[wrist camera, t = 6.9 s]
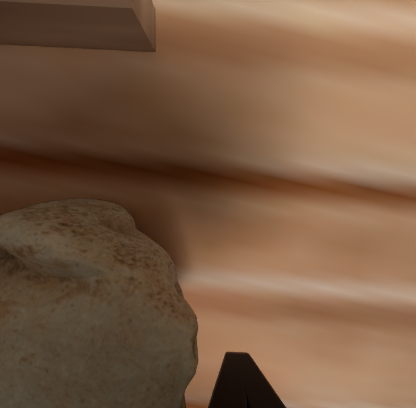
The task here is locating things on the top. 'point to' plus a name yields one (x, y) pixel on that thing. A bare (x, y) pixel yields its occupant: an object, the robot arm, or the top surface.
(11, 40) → the holder
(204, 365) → the top surface
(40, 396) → the sculpture
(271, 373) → the top surface
